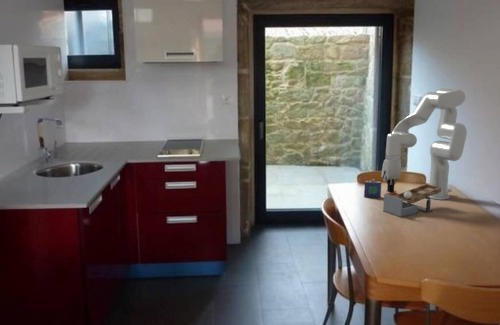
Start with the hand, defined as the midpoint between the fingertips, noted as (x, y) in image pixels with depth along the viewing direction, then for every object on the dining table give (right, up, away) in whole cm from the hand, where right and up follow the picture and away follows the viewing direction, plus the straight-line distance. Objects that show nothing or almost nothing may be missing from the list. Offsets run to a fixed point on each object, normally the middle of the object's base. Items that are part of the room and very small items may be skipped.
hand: (390, 191), depth 274 cm
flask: (-5, -4, +17) cm, 19 cm away
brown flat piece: (+12, -2, -2) cm, 12 cm away
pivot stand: (+13, -9, -4) cm, 16 cm away
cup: (+2, -10, -10) cm, 15 cm away
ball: (+6, -1, -10) cm, 12 cm away
